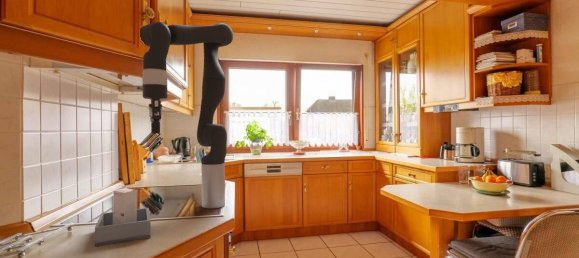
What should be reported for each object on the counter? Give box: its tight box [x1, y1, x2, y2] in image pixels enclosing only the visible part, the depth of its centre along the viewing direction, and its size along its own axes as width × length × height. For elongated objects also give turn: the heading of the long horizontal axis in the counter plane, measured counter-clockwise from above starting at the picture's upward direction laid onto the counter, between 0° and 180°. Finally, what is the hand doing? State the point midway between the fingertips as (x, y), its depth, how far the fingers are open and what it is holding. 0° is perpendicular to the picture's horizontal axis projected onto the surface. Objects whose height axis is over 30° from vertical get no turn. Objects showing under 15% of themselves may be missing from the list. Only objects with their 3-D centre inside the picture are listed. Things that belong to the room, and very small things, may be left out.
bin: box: [94, 207, 152, 247], centre depth 90 cm, size 16×14×5 cm
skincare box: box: [112, 187, 138, 225], centre depth 90 cm, size 6×4×12 cm
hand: (155, 133), depth 99 cm, fingers open, 8 cm apart
